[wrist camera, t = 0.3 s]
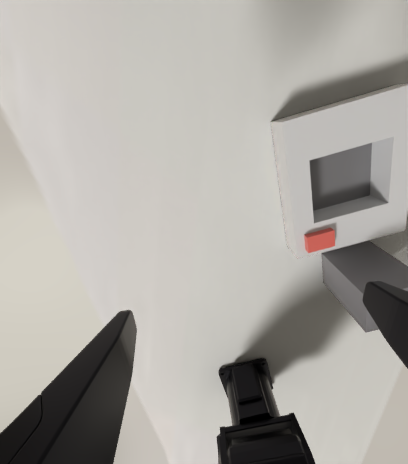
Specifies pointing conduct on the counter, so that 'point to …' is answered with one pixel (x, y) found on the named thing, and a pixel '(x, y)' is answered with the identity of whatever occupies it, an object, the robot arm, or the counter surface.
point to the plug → (360, 276)
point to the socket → (344, 171)
